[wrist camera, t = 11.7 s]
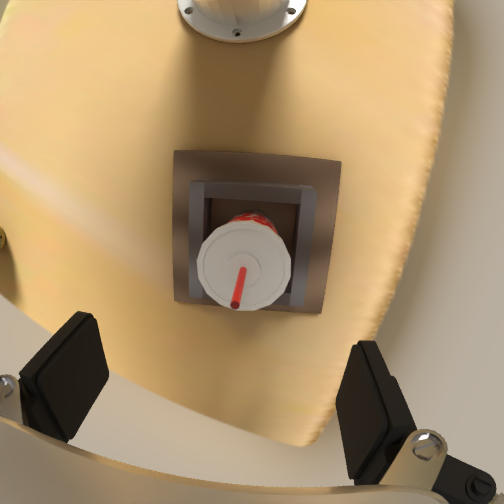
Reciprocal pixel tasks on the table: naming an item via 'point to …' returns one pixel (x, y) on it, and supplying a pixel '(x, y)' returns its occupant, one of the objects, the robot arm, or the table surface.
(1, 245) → the cup
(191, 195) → the socket board
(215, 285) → the beverage cup
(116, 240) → the table surface
